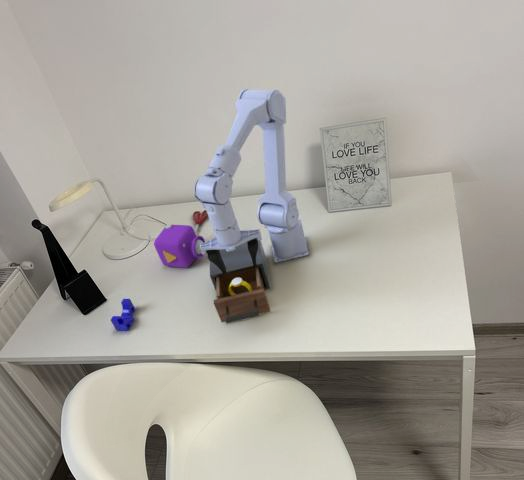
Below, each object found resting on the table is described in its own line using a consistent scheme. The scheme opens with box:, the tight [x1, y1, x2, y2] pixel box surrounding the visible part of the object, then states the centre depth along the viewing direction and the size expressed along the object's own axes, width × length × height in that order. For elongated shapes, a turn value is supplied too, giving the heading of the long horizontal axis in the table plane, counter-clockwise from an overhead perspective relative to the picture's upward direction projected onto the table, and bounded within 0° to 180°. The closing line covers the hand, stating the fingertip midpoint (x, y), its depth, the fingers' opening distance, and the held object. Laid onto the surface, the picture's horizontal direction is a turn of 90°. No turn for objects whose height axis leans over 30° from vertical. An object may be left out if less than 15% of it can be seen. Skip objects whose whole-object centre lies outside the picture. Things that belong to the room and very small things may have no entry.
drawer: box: [213, 267, 271, 324], centre depth 135 cm, size 17×12×7 cm
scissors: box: [192, 209, 209, 234], centre depth 171 cm, size 5×14×1 cm, turn 172°
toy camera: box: [153, 223, 206, 268], centre depth 157 cm, size 11×14×10 cm
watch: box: [228, 277, 253, 296], centre depth 136 cm, size 6×3×6 cm, turn 74°
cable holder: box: [110, 298, 136, 332], centre depth 145 cm, size 8×4×4 cm, turn 164°
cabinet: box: [209, 240, 271, 294], centre depth 145 cm, size 14×14×9 cm
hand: (240, 268), depth 134 cm, fingers open, 7 cm apart
